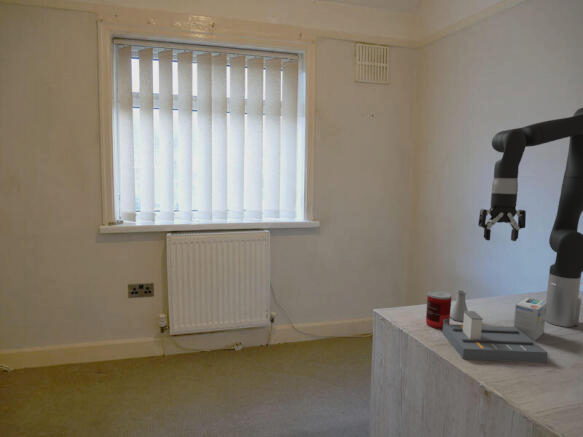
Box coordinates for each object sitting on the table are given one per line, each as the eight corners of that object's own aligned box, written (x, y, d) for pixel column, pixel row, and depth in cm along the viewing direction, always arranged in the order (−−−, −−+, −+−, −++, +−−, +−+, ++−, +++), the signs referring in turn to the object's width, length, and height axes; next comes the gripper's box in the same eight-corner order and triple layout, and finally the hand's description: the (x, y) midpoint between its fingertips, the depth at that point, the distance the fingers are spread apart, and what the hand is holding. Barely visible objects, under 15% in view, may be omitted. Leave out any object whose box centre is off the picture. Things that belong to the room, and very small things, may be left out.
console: (514, 335, 130) (515, 325, 130) (546, 362, 112) (547, 350, 112) (442, 332, 131) (443, 322, 131) (462, 358, 114) (463, 346, 113)
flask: (466, 315, 148) (468, 289, 147) (473, 322, 141) (475, 295, 140) (446, 314, 149) (448, 288, 147) (452, 321, 141) (454, 294, 140)
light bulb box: (522, 326, 138) (525, 296, 137) (544, 333, 133) (548, 301, 132) (511, 335, 131) (515, 303, 129) (535, 342, 126) (538, 309, 125)
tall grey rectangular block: (472, 331, 125) (474, 311, 124) (480, 340, 119) (482, 318, 118) (462, 331, 125) (463, 310, 124) (469, 339, 119) (471, 318, 118)
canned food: (448, 322, 141) (451, 291, 139) (449, 330, 133) (452, 298, 132) (425, 319, 143) (427, 289, 142) (425, 327, 136) (427, 295, 134)
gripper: (520, 191, 136) (516, 239, 138) (477, 190, 136) (474, 238, 138) (532, 193, 128) (528, 243, 130) (487, 192, 129) (483, 242, 131)
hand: (500, 240), depth 134 cm, fingers open, 8 cm apart
